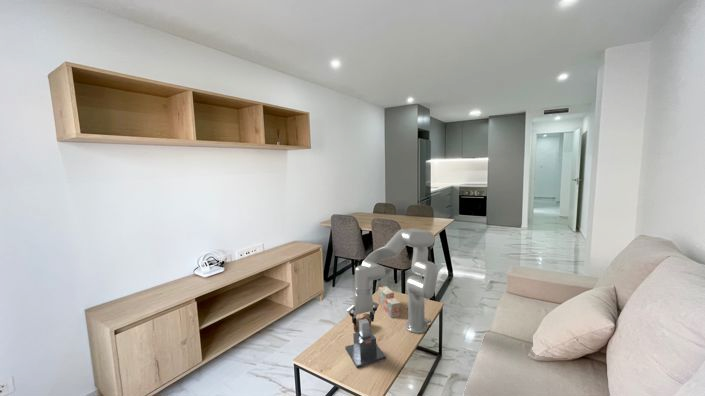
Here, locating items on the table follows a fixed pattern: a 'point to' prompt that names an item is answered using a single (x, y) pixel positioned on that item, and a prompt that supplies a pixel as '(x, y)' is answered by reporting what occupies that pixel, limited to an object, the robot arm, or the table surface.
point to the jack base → (364, 351)
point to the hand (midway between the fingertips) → (363, 322)
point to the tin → (364, 316)
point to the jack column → (364, 329)
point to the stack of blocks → (389, 302)
